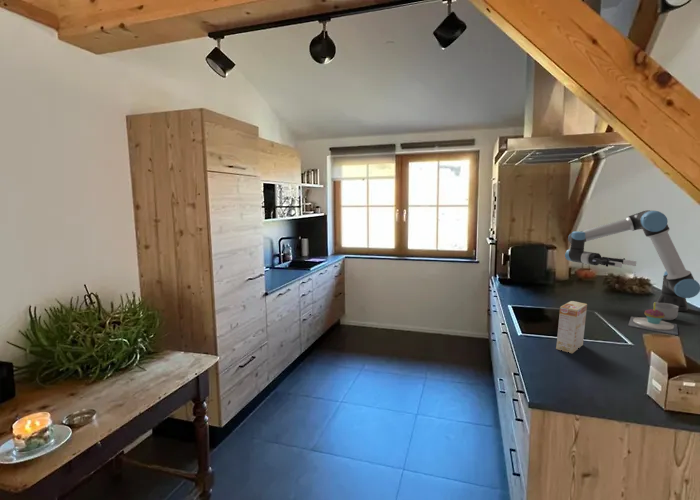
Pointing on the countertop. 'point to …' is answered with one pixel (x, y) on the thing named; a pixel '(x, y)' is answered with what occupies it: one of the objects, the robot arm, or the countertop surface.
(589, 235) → the robot arm
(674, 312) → the teacup
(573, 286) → the countertop surface
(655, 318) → the cupcake
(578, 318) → the coffeecake box
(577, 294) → the countertop surface
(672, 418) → the countertop surface
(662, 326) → the dish
